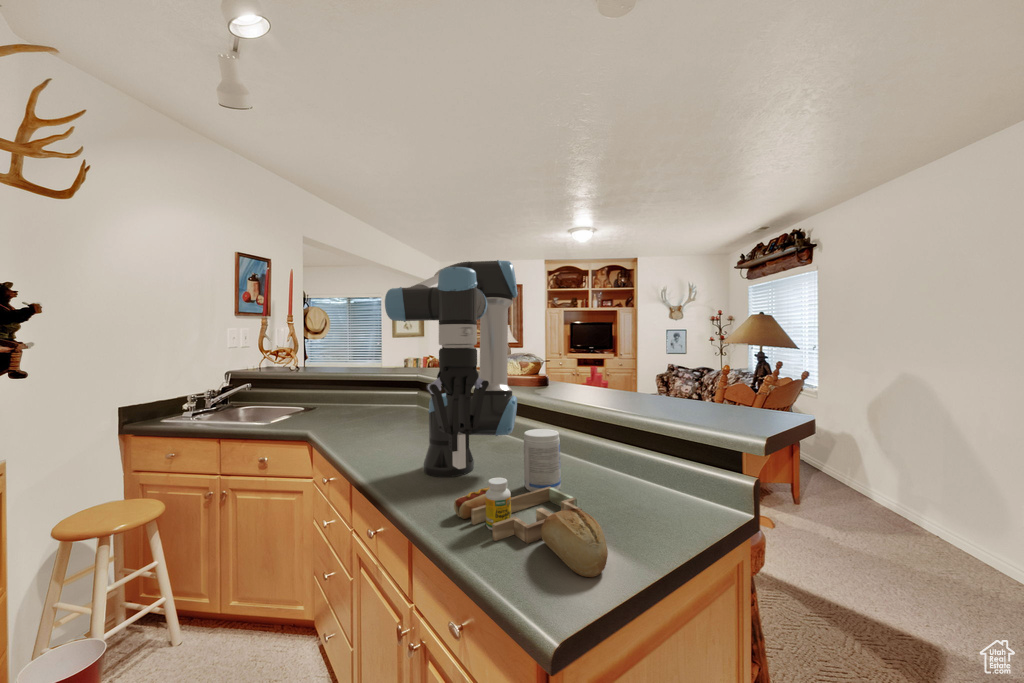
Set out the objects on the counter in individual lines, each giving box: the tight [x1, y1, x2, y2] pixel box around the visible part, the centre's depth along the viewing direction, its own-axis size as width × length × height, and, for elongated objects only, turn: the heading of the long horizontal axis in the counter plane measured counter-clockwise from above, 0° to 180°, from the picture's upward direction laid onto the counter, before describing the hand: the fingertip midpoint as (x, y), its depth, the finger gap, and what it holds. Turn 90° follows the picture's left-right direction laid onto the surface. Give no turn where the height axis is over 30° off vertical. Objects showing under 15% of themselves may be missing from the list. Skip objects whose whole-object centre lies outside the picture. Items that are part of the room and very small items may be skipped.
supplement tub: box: [523, 428, 562, 492], centre depth 104 cm, size 10×10×15 cm
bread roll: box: [541, 508, 609, 578], centre depth 71 cm, size 10×15×8 cm, turn 28°
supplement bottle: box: [485, 477, 512, 531], centre depth 83 cm, size 5×5×10 cm
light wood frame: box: [470, 486, 583, 545], centre depth 85 cm, size 14×22×3 cm, turn 125°
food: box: [453, 486, 489, 520], centre depth 91 cm, size 14×6×5 cm, turn 135°
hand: (459, 466), depth 78 cm, fingers closed
